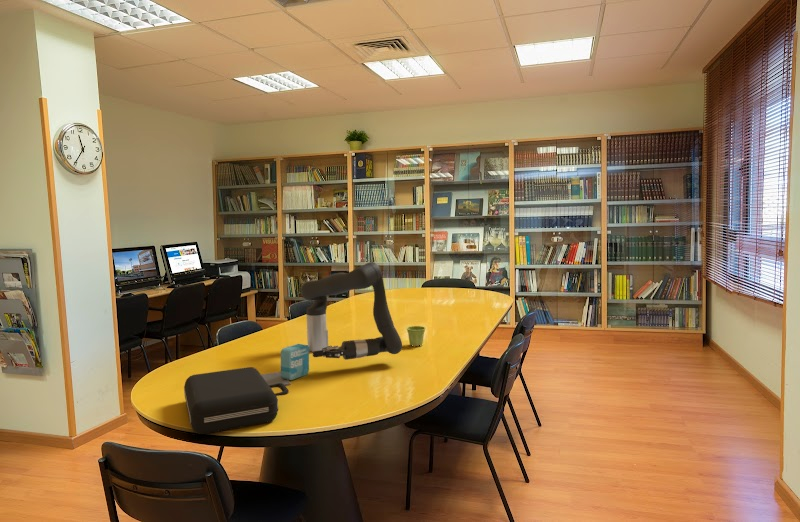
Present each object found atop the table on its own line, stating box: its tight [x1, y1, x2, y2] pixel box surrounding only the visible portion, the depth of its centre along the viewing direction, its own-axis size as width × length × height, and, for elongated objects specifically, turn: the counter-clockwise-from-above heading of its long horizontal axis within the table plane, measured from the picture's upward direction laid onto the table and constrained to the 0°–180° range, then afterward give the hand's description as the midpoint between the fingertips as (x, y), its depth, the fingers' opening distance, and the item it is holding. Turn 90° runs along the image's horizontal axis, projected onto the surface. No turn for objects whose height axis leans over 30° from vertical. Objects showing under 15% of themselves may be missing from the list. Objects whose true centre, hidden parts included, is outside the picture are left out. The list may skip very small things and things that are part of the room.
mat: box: [260, 371, 291, 389], centre depth 205 cm, size 14×18×1 cm
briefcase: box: [183, 366, 290, 435], centre depth 174 cm, size 36×32×10 cm
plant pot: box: [406, 325, 426, 347], centre depth 256 cm, size 9×9×9 cm
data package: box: [280, 343, 310, 381], centre depth 209 cm, size 12×4×12 cm, turn 152°
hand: (313, 354), depth 211 cm, fingers closed
